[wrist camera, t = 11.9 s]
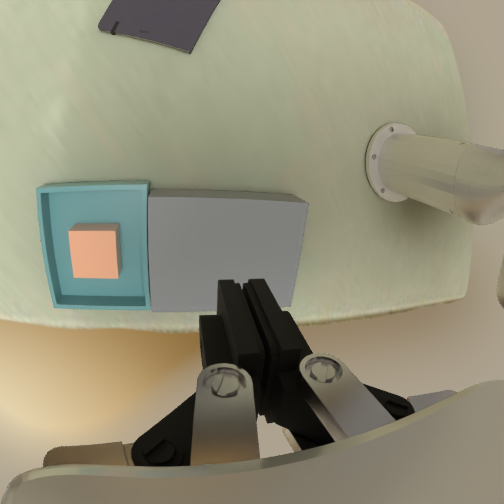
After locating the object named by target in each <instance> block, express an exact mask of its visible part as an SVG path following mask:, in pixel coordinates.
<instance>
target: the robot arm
mask: <svg viewBox="0 0 504 504" xmlns="http://www.w3.org/2000/svg"><path fill="white" fill-rule="evenodd" d="M366 173H367V177H368V180H369V182H370V185H371V187H372V188H373V190H374V191H375V193H377V194H378V195H379V196H380V197H381V198H383V199H385V200H388V201H390V202H401V201H404V200H406V199H408V198H411V199H414V200H417V201H419V202H422V203H424V204H427V205H430V206H432V207H435V208H437V209H440V210H442V211H445V212H447V213H449V214H452V215H454V216H457V217H459V218H461V219H464V220H466V221H468V222H470V223H473V224H476V225H488V224H491V223H494V222H496V221H498V220H500V219H502V218H503V217H504V150H502V149H497V148H492V147H487V146H482V145H477V144H472V143H467V142H461V141H455V140H449V139H443V138H436V137H429V136H421V135H417V134H416V133H415V131H414V130H412V129H411V128H410V127H408V126H406V125H405V124H400V123H390V124H386V125H384V126H382V127H381V128H380V129H378V130H377V131H376V133H375V134H374V135H373V137H372V139H371V141H370V143H369V146H368V149H367V154H366ZM497 297H498V301H499V303H500V305H501V306H502V308H503V309H504V257H503V262H502V265H501V269H500V273H499V277H498V282H497ZM199 331H200V348H201V358H202V366H203V371H202V372H201V373H200V374H199V376H198V380H197V388H196V392H195V393H194V394H193V395H192V396H190V397H189V398H188V399H187V400H186V401H184V402H183V403H182V404H181V405H180V406H178V407H177V408H176V409H175V410H173V411H172V412H171V413H170V414H169V415H167V416H166V417H165V418H163V419H162V420H161V421H160V422H159V423H157V424H156V425H155V426H153V427H152V428H151V429H150V430H148V431H147V432H146V433H144V434H143V435H142V436H140V437H139V438H138V439H137V440H136V441H135V442H134V443H130V444H122V442H113V443H105V444H94V445H80V446H61V447H57V448H53V449H52V450H50V451H48V452H47V454H46V455H45V457H44V461H43V467H41V468H37V469H32V470H30V471H27V472H23V473H21V474H19V475H17V476H16V477H15V478H13V480H12V481H11V482H10V483H9V485H8V486H7V488H6V490H5V493H4V495H3V497H2V501H1V504H504V380H492V381H487V382H483V383H479V384H476V385H473V386H471V387H468V388H466V389H464V390H462V391H460V392H455V391H452V390H445V391H440V392H435V393H429V394H423V395H417V396H410V397H408V398H407V399H405V398H403V397H400V396H398V395H395V394H392V393H388V392H386V391H383V390H380V389H377V388H374V387H371V386H368V385H366V384H363V383H361V382H360V381H359V379H358V378H357V377H356V376H355V375H354V374H353V373H352V372H351V370H349V368H348V367H347V366H346V365H345V364H344V363H343V362H342V361H341V360H340V359H338V358H336V357H335V356H333V355H329V354H325V353H316V354H313V353H312V351H311V350H310V347H309V346H308V344H307V342H306V340H305V339H304V337H303V335H302V334H301V332H300V330H299V328H298V327H297V325H296V323H295V321H294V320H293V318H292V316H291V314H290V313H289V312H288V311H282V310H281V308H280V306H279V305H278V303H277V301H276V299H275V297H274V295H273V294H272V292H271V290H270V288H269V286H268V284H267V283H266V281H265V279H264V278H262V279H249V280H248V283H243V287H242V288H241V285H240V283H235V282H234V279H225V280H218V289H217V315H200V316H199ZM258 413H259V415H260V416H261V415H265V418H266V421H267V423H273V422H275V423H276V424H278V425H280V426H282V427H283V433H284V435H285V437H286V439H287V441H288V442H289V444H290V446H291V447H292V449H293V451H294V453H289V454H284V455H279V456H275V457H269V458H262V459H260V452H259V443H258V433H257V423H256V422H257V417H258Z"/></svg>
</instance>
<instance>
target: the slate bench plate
mask: <svg viewBox="0 0 504 504" xmlns="http://www.w3.org/2000/svg"><path fill="white" fill-rule="evenodd" d="M308 205H309V203H307V202H306V201H304V200H302V199H300V198H298V197H296V196H294V195H292V194H278V193H263V192H246V191H226V190H198V189H151V191H150V194H149V196H148V253H149V277H150V293H151V307H152V312H197V311H217V289H218V280H225V279H234V282H235V283H240V285H241V288H242V287H243V283H248V280H249V279H262V278H264V279H265V281H266V283H267V284H268V286H269V288H270V290H271V292H272V294H273V295H274V297H275V299H276V301H277V303H278V305H279V306H280V307H291V303H292V297H293V292H294V287H295V282H296V276H297V271H298V265H299V260H300V254H301V248H302V242H303V236H304V230H305V224H306V218H307V211H308Z"/></svg>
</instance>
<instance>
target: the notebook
mask: <svg viewBox="0 0 504 504" xmlns="http://www.w3.org/2000/svg"><path fill="white" fill-rule="evenodd" d="M219 2H220V0H112V2H111V4H110V5H109V7H108V9H107V10H106V12H105V14H104V15H103V17H102V19H101V20H100V22H99V24H98V28H99V29H100V30H103V31H105V32H111V34H112V35H115V33H116V34H121V35H126V36H131V37H135V38H139V39H144V40H148V41H152V42H155V43H159V44H163V45H166V46H170V47H173V48H177V49H180V50H183V51H186V52H189V54H191V52H192V50H193V48H194V46H195V44H196V42H197V40H198V38H199V37H200V35H201V33H202V31H203V29H204V27H205V26H206V24H207V22H208V20H209V18H210V17H211V15H212V13H213V12H214V10H215V8H216V6H217V5H218V3H219Z"/></svg>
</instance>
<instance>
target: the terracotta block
mask: <svg viewBox="0 0 504 504" xmlns="http://www.w3.org/2000/svg"><path fill="white" fill-rule="evenodd" d="M68 233H69V244H70V253H71V261H72V268H73V275H74V278H108V279H119V275H120V272H121V269H122V262H121V245H120V223H76V224H75V225H74V226H73V227H72V228H71V229H70V230H69V231H68Z"/></svg>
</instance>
